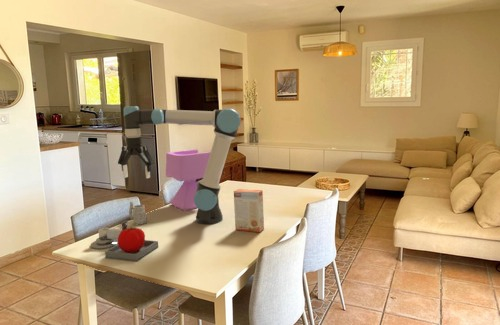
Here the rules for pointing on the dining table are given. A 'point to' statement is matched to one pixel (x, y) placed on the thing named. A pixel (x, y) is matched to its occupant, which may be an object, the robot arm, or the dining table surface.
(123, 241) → the tomato
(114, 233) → the crank
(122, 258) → the tray
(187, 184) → the pink table lamp
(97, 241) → the crank base
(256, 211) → the cracker box
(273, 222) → the dining table surface
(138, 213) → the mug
